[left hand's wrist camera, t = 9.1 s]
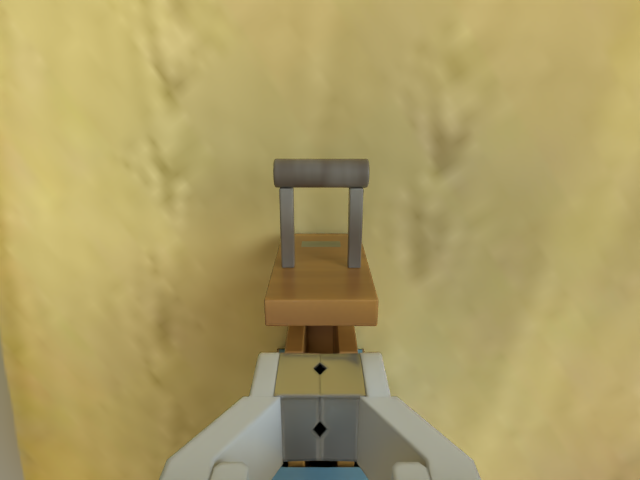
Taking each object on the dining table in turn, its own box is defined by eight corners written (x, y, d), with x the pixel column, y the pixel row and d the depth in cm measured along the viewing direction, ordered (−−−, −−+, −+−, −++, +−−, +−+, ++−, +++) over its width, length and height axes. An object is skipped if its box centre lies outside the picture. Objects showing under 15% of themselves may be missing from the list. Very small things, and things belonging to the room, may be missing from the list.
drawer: (279, 146, 23) (258, 173, 15) (362, 146, 23) (385, 173, 15) (288, 469, 31) (277, 603, 23) (352, 469, 31) (363, 603, 23)
